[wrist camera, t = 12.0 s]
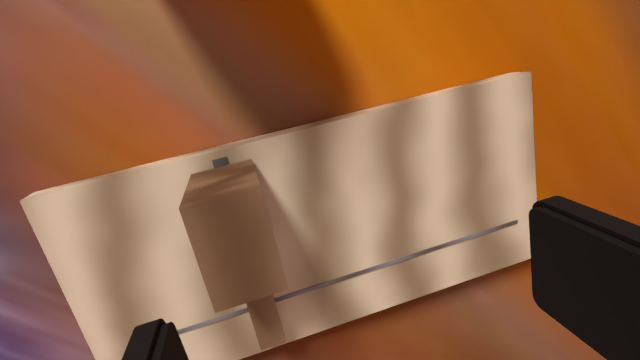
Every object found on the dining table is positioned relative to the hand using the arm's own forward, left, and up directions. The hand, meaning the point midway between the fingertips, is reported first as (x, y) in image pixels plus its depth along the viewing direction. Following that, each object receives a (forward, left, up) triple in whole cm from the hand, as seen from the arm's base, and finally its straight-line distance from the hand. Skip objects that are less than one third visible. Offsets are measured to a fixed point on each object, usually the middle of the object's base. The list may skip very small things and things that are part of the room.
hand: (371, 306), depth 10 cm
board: (-2, +6, -20) cm, 21 cm away
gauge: (+4, +6, -17) cm, 19 cm away
